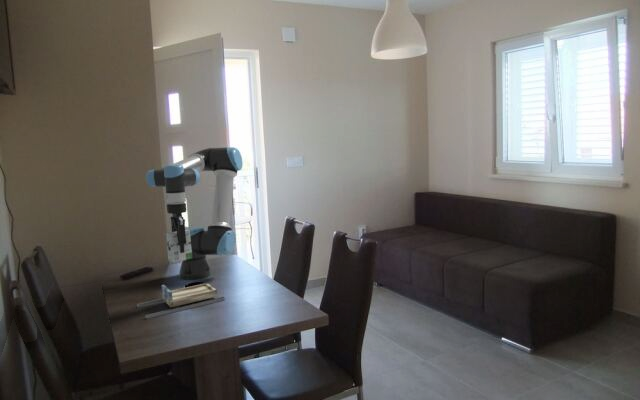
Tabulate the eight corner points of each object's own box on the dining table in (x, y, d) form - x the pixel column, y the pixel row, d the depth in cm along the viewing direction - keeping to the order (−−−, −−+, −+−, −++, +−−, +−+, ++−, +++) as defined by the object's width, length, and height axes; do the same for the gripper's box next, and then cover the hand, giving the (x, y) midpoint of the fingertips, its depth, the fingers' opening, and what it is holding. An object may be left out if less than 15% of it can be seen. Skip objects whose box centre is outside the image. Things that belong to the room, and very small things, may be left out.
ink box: (187, 256, 194) (185, 229, 193) (192, 258, 191) (190, 230, 190) (167, 260, 189) (165, 232, 187) (172, 262, 185) (170, 233, 184)
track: (137, 306, 187) (137, 304, 187) (211, 290, 203) (210, 287, 203) (146, 318, 174) (146, 315, 173) (224, 300, 190) (224, 297, 190)
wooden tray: (163, 302, 190) (161, 285, 189) (207, 292, 201) (206, 275, 200) (171, 310, 180) (169, 292, 179) (217, 299, 191) (216, 282, 190)
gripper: (161, 202, 193) (165, 256, 196) (172, 205, 177) (176, 264, 180) (179, 200, 197) (183, 253, 200) (191, 203, 181) (195, 261, 184)
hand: (180, 258), depth 190 cm, fingers closed on ink box, 6 cm apart
